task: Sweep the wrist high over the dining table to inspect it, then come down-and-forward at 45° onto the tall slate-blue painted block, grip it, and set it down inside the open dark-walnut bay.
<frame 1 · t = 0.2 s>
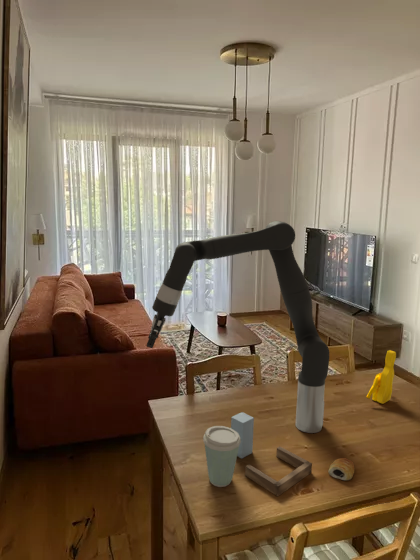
hand: (150, 342, 144), 31 cm above the table, tool tilted 20°, fingers open, 8 cm apart
walnut bay: (278, 474, 125), on the table
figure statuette: (381, 401, 175), on the table
pastry: (341, 473, 127), on the table
disposable coffee cup: (220, 481, 122), on the table
slate block: (241, 452, 136), on the table
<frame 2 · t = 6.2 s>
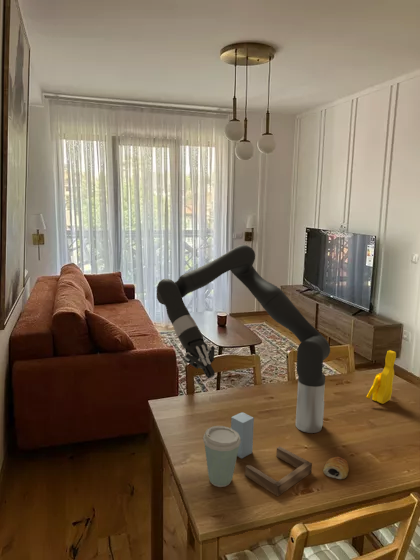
hand: (211, 376, 137), 23 cm above the table, tool tilted 45°, fingers closed
pastry: (335, 472, 127), on the table
everything else where it was.
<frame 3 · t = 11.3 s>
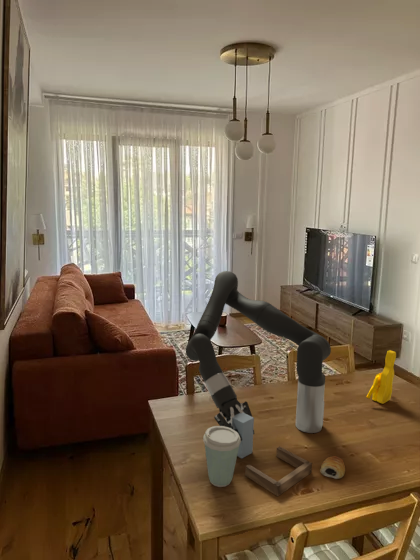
hand: (246, 438, 134), 6 cm above the table, tool tilted 45°, fingers closed on slate block, 5 cm apart
slate block: (241, 452, 136), on the table, touching gripper
when the fingers open (7 cm above the table, at t = 17.1 s): slate block stays where it is, on the table.
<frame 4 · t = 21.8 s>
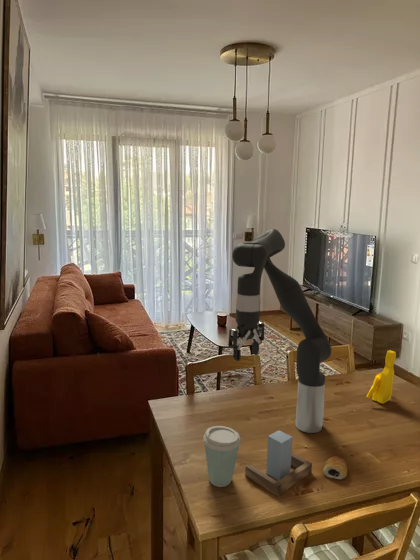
hand: (246, 357, 136), 30 cm above the table, tool pointing down, fingers open, 8 cm apart
slate block: (278, 473, 125), on the table
everything else where it was.
at the end: slate block inside the target area (0.1 cm from its centre), on the table; slate block tilted 0°; the gripper is holding nothing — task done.
